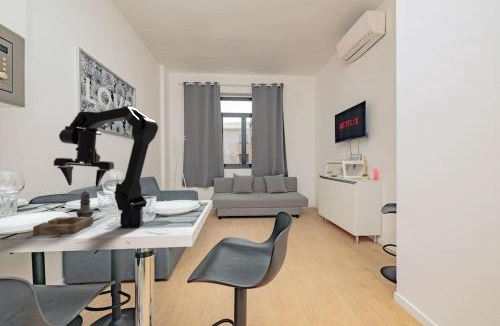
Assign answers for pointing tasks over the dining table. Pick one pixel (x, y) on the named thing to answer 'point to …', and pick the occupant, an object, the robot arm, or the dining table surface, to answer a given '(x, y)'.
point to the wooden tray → (63, 225)
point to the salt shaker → (85, 206)
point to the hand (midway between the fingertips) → (83, 186)
